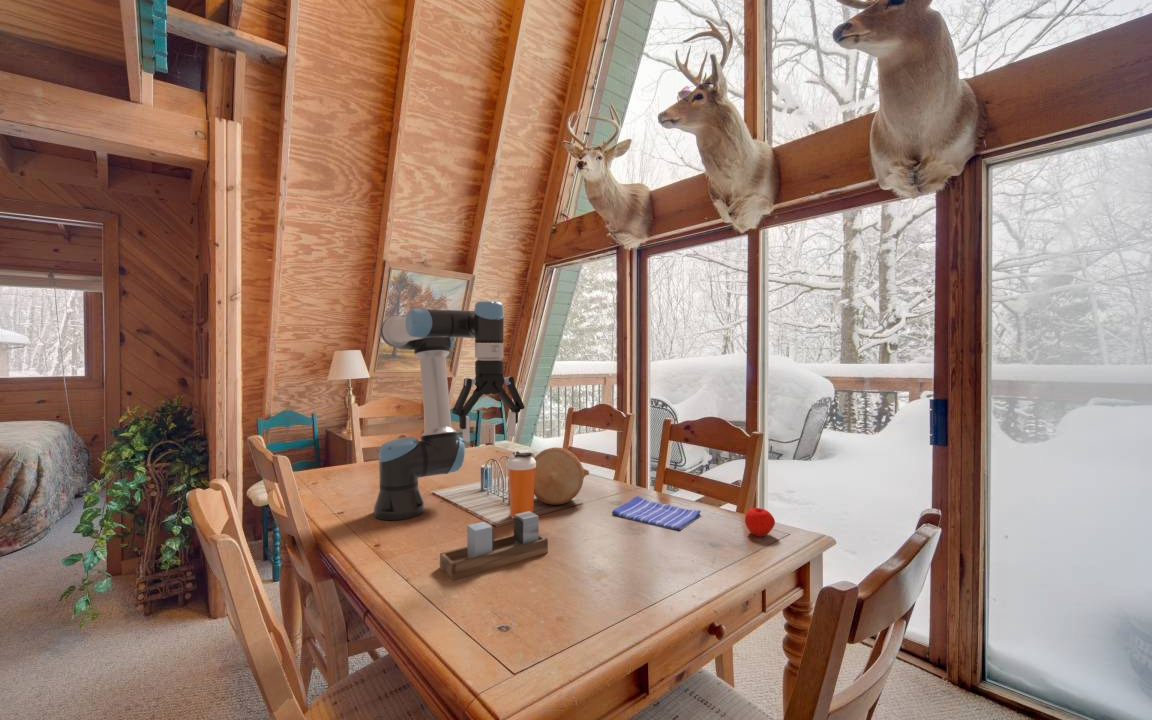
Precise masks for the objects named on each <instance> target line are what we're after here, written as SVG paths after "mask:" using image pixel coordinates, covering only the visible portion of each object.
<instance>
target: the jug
mask: <svg viewBox="0 0 1152 720" xmlns="http://www.w3.org/2000/svg"><path fill="white" fill-rule="evenodd" d="M533 458H534V459H535V461H536V468H535V483H534V497H536V499H538V500H539V501H541V502H542V503H544V504H548V505H553V506H554V505H555V506H557V505H558V506H559V505H564V504H567V503H569V502H571V501H572V500H573V499H574V498H575V497H576V496H577V495H578V494H579V493H580V491H581V489H582V487H583V483H584V478H585V477H587V476H589V475H590V471H589V469H586V468H584V466H583V465H582V463H581V461H580V459H579V458H578V457H577V456H576V454H575V453H573V452H572V451H570V450H568V449H567V448H564V447H558V446H557V447H550V448H546V449H544V450H542V451H540V452H538V453H537V454H536V455H535V456H534V457H533Z"/></svg>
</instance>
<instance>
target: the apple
mask: <svg viewBox="0 0 1152 720" xmlns="http://www.w3.org/2000/svg"><path fill="white" fill-rule="evenodd" d="M744 523H745V527H746V528H747V529H748V531H749V532H750V533H751V534H752V535H754V536H756V537H764V536H767V535H768V534H769V533H771V532H772V530H773V528H774V527H775V524H776V521H775V518H774V516H773V515H772V513H771V512H770V511H768V510H766V509H765V508H760V507H753V508H750V509H749V510H748V511H747V512H746V513H745V517H744Z"/></svg>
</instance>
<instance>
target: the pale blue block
mask: <svg viewBox="0 0 1152 720" xmlns="http://www.w3.org/2000/svg"><path fill="white" fill-rule="evenodd" d="M466 531H467V532H466V533H467V534H466V535H467V537H466V538H467V539H466V540H467V542H466V543H467V544H466V545H467V546H466V547H467V557H468V558H469V559H470V558H474V557H478V556H481V555H485V554H489V553H492V551H494V540H495V539H494V528H493V526H491V525H490V524H489V523H487V522H485V521H480V522H477V523H472V524H467V525H466Z"/></svg>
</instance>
